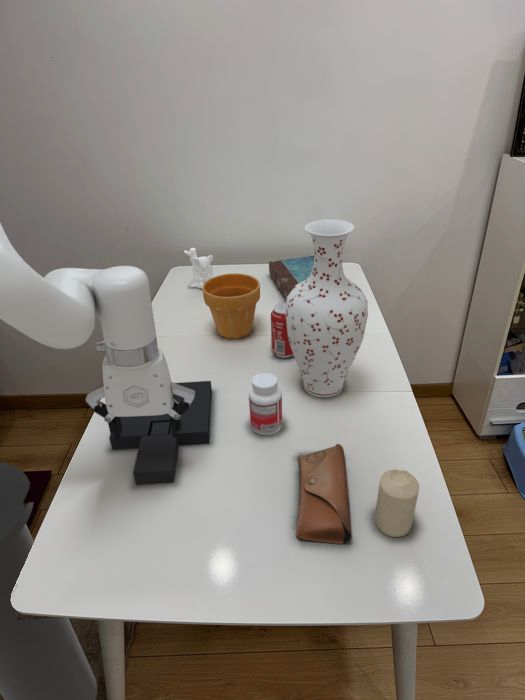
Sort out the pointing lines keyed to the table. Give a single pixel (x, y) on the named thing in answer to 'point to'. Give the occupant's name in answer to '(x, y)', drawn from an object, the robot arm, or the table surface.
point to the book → (290, 272)
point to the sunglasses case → (324, 497)
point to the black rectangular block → (156, 456)
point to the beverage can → (280, 332)
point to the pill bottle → (265, 404)
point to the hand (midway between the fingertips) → (147, 433)
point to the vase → (326, 313)
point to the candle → (396, 502)
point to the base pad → (192, 419)
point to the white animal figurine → (200, 268)
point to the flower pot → (232, 303)
